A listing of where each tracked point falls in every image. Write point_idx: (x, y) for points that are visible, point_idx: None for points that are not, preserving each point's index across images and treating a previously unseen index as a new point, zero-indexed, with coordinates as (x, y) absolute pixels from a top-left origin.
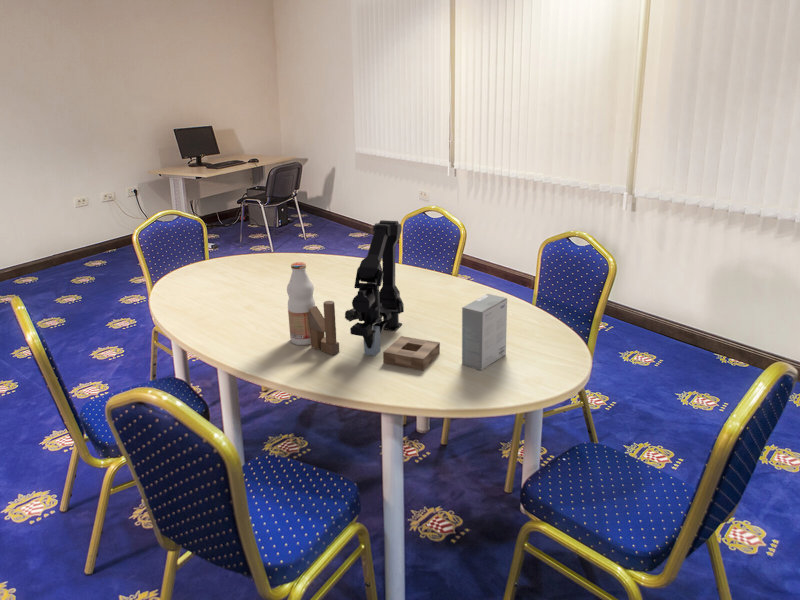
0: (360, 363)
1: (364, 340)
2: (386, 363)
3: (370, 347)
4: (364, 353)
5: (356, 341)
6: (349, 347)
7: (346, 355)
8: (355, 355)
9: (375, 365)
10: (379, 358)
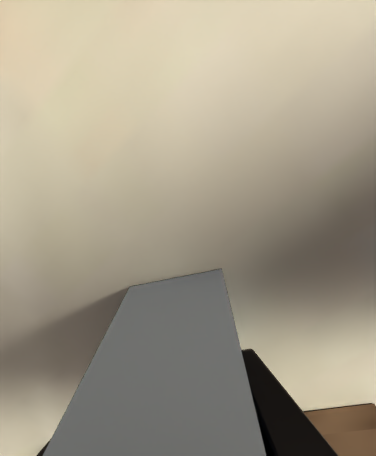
0: (10, 350)
1: (67, 422)
2: None
3: None
4: (129, 289)
5: (315, 20)
6: (142, 79)
7: (7, 189)
8: (63, 249)
9: None
10: None
